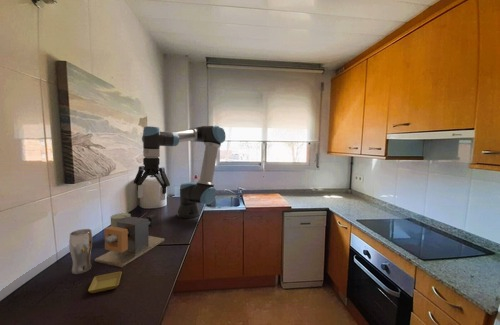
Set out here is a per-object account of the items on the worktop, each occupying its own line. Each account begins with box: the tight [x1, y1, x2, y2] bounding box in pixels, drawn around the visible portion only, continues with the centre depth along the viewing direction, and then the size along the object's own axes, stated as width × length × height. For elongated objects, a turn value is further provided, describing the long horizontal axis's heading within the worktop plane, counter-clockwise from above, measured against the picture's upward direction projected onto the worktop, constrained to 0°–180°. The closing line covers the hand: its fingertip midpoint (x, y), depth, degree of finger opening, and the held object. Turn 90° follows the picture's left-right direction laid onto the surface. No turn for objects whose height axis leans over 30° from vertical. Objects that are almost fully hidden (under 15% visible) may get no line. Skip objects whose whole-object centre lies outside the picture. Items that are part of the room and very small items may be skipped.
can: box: [109, 212, 132, 242], centre depth 112 cm, size 9×9×12 cm
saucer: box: [87, 271, 123, 294], centre depth 74 cm, size 9×9×2 cm
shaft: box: [104, 214, 158, 244], centre depth 99 cm, size 27×3×5 cm, turn 164°
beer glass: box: [68, 228, 93, 275], centre depth 82 cm, size 7×7×15 cm
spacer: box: [104, 225, 128, 253], centre depth 90 cm, size 3×9×9 cm, turn 74°
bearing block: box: [94, 216, 165, 268], centre depth 99 cm, size 26×14×14 cm, turn 164°
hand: (151, 198), depth 109 cm, fingers open, 13 cm apart
